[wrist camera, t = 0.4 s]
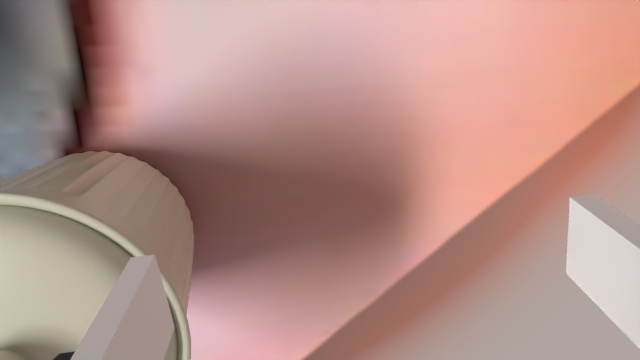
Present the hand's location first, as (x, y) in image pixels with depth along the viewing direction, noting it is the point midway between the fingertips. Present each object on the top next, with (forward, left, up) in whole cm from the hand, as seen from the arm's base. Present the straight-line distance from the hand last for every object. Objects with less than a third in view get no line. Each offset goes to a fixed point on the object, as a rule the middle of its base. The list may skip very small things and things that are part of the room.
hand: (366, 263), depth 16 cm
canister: (+8, -19, -27) cm, 33 cm away
